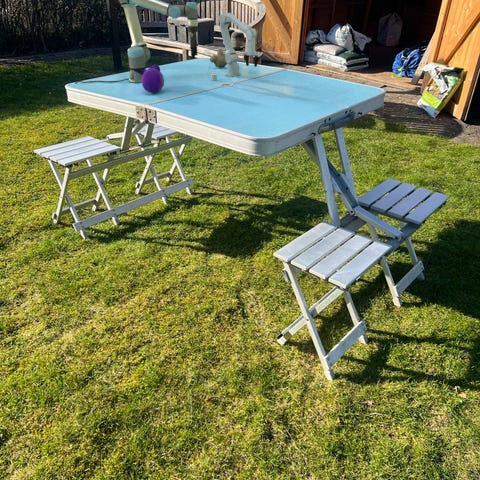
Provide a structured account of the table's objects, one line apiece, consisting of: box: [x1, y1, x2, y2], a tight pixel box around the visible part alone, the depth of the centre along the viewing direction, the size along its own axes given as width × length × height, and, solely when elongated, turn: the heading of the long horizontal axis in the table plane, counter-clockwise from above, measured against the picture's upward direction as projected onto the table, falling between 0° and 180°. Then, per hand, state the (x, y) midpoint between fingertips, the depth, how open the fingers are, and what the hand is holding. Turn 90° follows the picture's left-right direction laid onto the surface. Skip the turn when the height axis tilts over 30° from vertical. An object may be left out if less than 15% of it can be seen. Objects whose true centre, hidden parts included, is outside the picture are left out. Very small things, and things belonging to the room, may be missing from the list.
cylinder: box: [211, 73, 218, 82], centre depth 337 cm, size 4×4×4 cm
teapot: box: [209, 48, 227, 69], centre depth 380 cm, size 21×12×15 cm, turn 120°
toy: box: [134, 64, 165, 94], centre depth 304 cm, size 16×18×27 cm
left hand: (194, 56), depth 341 cm, fingers open, 13 cm apart
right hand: (251, 66), depth 338 cm, fingers open, 7 cm apart
